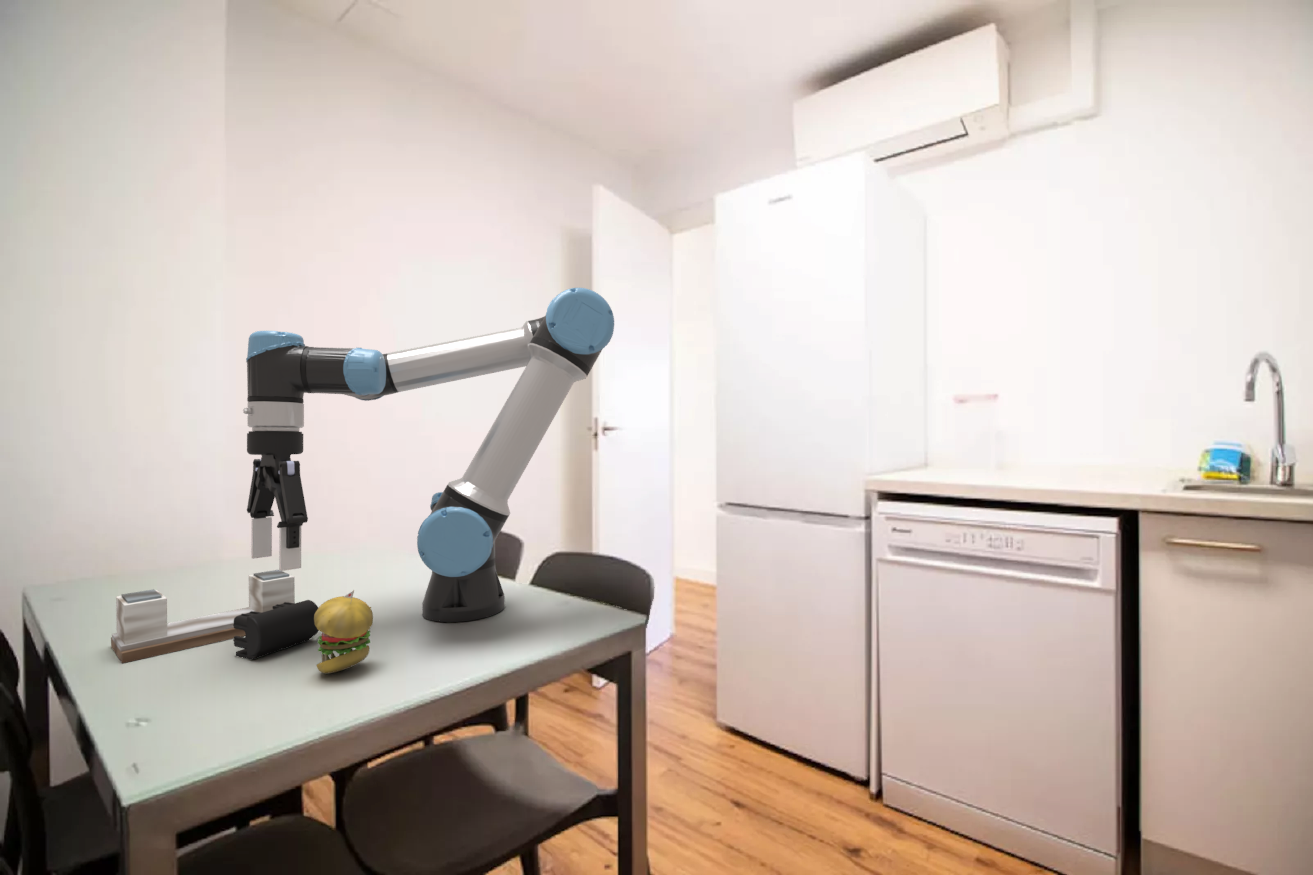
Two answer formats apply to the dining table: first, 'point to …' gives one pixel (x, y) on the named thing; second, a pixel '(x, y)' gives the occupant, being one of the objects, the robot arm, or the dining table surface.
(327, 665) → the hamburger
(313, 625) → the end cap
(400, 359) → the robot arm
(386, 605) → the dining table surface
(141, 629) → the rail board
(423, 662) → the dining table surface
